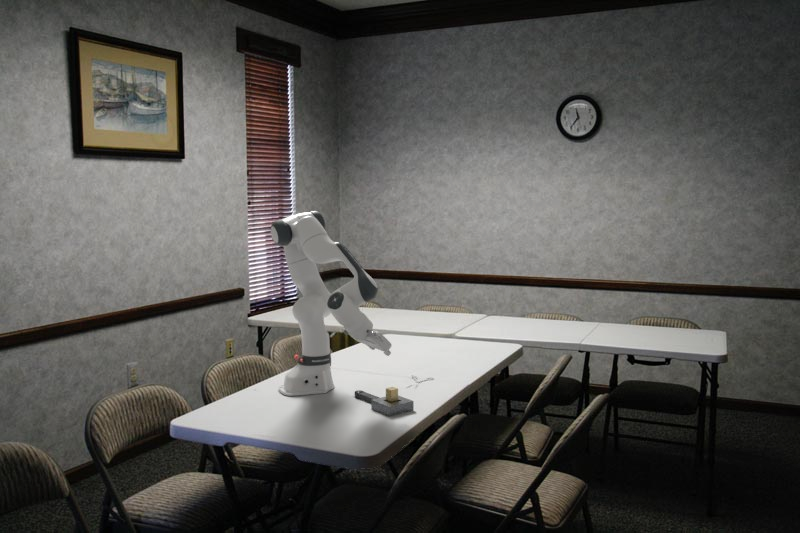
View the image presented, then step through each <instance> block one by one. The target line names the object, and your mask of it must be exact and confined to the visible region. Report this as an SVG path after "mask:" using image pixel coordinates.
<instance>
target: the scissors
mask: <svg viewBox="0 0 800 533" xmlns="http://www.w3.org/2000/svg"><path fill="white" fill-rule="evenodd" d="M412 377H413V378H412ZM416 377H417V378H418V379H419V377H418V376H415V375H413V374H412V375H411V376H410V379H411V378H412V379H411V380H414V381H415V380H416V381H415V383H419V384H420V383H422V382H426V381H433V380H435V377H431V378H430V377H427V378H425V379H423V380H418V379H417V378H416ZM419 384H416V387H415V386H414V389H417V387H418V386H419ZM409 386H410V385H408V386H407V387H408V388H410V387H409Z"/></svg>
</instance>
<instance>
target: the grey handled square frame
mask: <svg viewBox="0 0 800 533" xmlns="http://www.w3.org/2000/svg"><path fill="white" fill-rule="evenodd" d="M354 398H356V399H358V400H362V401H364V402H367V403H369V404H370V405H371V410H372V411H375V412H377V413H380V414H381V415H385V416H387V417H393V416H397V415H400V414H405V413H409V412H411V411H414V400H411V399H409V398H406V397H403V396H400V395H398V402H394V403H389V402H386V396H382V397H379V396H376V395H374V394H371V393H369V392H366V391H364V390H359V389H358V390H355V391H354Z"/></svg>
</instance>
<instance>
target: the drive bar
mask: <svg viewBox="0 0 800 533" xmlns="http://www.w3.org/2000/svg"><path fill="white" fill-rule="evenodd" d="M398 396H399V388H397V387H394V386H391V387H390V386H389V387H386V388H385V397H386V402H389V403H394V402H398Z"/></svg>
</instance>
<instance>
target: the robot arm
mask: <svg viewBox="0 0 800 533" xmlns="http://www.w3.org/2000/svg"><path fill="white" fill-rule="evenodd" d="M269 229H270V236H271V238H272V241H273V242H274V244H276V245H277V246H280V247H283V250H284V251H283V252H284V259H285V262H286V264H287V268H288V272H289V275H290V277H291V281H292V284H293V285H294V286H295V287H296V288H297V289H298V290H299V292H300V293H301V295H302V297H300V298H298V299H297V300H296V301H295V302H294V304H293V305H292V310H291V311H292V315H293V317H294V319H295V320H296V321H297V322H298V326H299V329H300V333H301V348H302V350H301V351H302V352H301V354H300V355H299V354H295V355H293V357H294V359H295V360H296V361H297V364H296V365H295V366H293V368H291V369H290V370H289V371H288V372H287V373H286V374H285V376H284V382H283V385H279V386H278V392H279V393H280V394H282V395H284V396H289V397H294V396H295V397H296V396H305V395H317V394H327V392H329V391H330V390H333V389H334V388H335V383H334V381H333V376H332V370H331V367H332V354H331V352H330V350H331V349H330V334H329V332H328V331H327V328H326V325H325V322H324V321H325V320H324V319H325V318H326V317H329V316H330V315H332V316H333V317H334V319H335V320H336V322H338V324H340V325H341V326H343V328H342V331H343V332H344V333H346V334H347V335H349V336H350V337H351V338H352V339H354V341H356V342H359V343H361V344H364V345H365V346H367V347H368V348H369V349H370V350H372V351H374V350H379V351H381V352H383V354H384V355H385V356H387V357H389V356H390V355H391V354H392V352H391V351H390V349H391V348H392V342H390V340H388V338H386V337H385V335H383V334H382V333H381V332H379V331H376V330H374V329H373V327H374V326H373V325H374V324H373V322H372V321H371V320H370V319H369V318H368V316H367V315H366V314H365V313H363V312H362V311H361V310H360V307H361V306H362V305H364V304H366V303H368V302H370V301H372V300H374V299H376V297H377V294H378V291H379V287H378V284H377V283H376V281H375V279H374V278H372V276H370V274H368V272H367V271H366V270H365V269H364V268H363V266H362V264H360V263H359V261H358V260H357V258H355V256H354V255H353V253H352V252H351V251H350V250H349V249H348V248H347V247H346V246H345V245H344V244H343V243H341V242H340V241H334V240H332V239H331V238H330V236H329V235H328V232H327V231H326V222H325V219H324V216H323V215H322V213H320V212H319V211H317V210H309V211H308V212H300V213H295V214H293V215H290V216H287V217H283V218H282V219H281V218H280V219H277V220H275V221H273V222H272V223H271V225H270V228H269ZM333 262H342V263H344V265H345V266H346V267H347V269H348V270H349V271H350V273H352V275H353V278H352V279H351V280H349V281H348V282H347V283H345V284H344V285H342V286H340V287H339V288H337V289H335V290H334V291H332V292H330V291H329V289H328V288H327V286H326V285H325V283H324V281H323V279H322V277H321V275H320V272H319V270H318V266H317V264H319V265H320V264H321V265H323V264H329V263H333Z"/></svg>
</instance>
